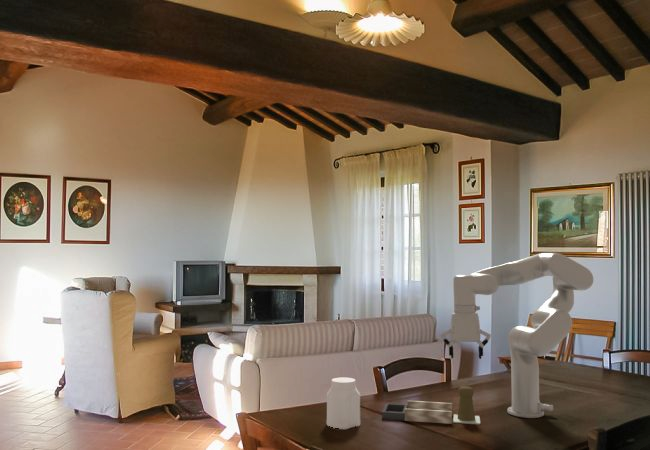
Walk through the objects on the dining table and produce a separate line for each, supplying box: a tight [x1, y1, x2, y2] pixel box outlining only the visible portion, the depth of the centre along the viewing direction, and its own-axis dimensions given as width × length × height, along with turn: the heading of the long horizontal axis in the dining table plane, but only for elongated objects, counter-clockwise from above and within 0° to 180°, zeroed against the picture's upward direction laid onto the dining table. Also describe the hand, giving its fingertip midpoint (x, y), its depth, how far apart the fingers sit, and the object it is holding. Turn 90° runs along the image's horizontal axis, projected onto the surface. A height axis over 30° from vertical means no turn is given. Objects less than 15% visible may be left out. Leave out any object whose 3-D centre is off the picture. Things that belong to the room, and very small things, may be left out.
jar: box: [326, 376, 361, 430], centre depth 199 cm, size 12×10×15 cm
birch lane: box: [404, 400, 453, 425], centre depth 207 cm, size 16×12×4 cm
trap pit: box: [381, 403, 408, 422], centre depth 210 cm, size 8×12×2 cm, turn 167°
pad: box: [452, 413, 481, 425], centre depth 204 cm, size 9×9×1 cm
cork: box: [457, 385, 476, 421], centre depth 204 cm, size 6×6×11 cm
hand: (466, 357), depth 207 cm, fingers open, 9 cm apart
